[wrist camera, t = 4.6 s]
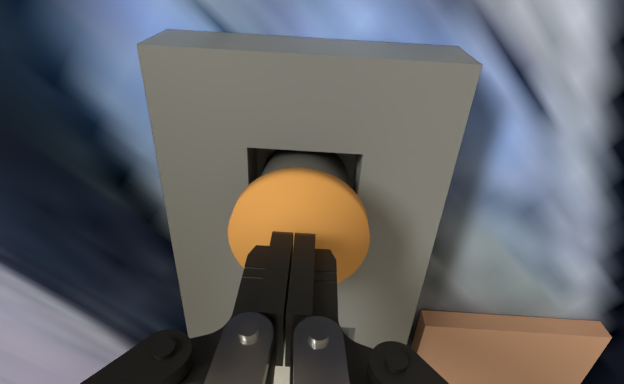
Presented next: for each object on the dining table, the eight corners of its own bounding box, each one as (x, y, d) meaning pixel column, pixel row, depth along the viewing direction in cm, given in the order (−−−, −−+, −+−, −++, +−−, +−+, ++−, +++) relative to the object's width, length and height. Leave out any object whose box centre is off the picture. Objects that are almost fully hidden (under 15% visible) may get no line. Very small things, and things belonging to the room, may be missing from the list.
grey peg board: (211, 361, 28) (199, 403, 25) (166, 29, 16) (136, 44, 14) (381, 372, 28) (387, 415, 25) (458, 46, 16) (482, 64, 14)
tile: (393, 409, 30) (395, 425, 29) (421, 309, 24) (425, 325, 23) (537, 418, 30) (544, 435, 29) (600, 321, 24) (611, 337, 23)
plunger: (250, 223, 20) (231, 287, 16) (246, 124, 17) (223, 174, 13) (355, 230, 20) (361, 295, 16) (368, 132, 17) (378, 183, 13)
